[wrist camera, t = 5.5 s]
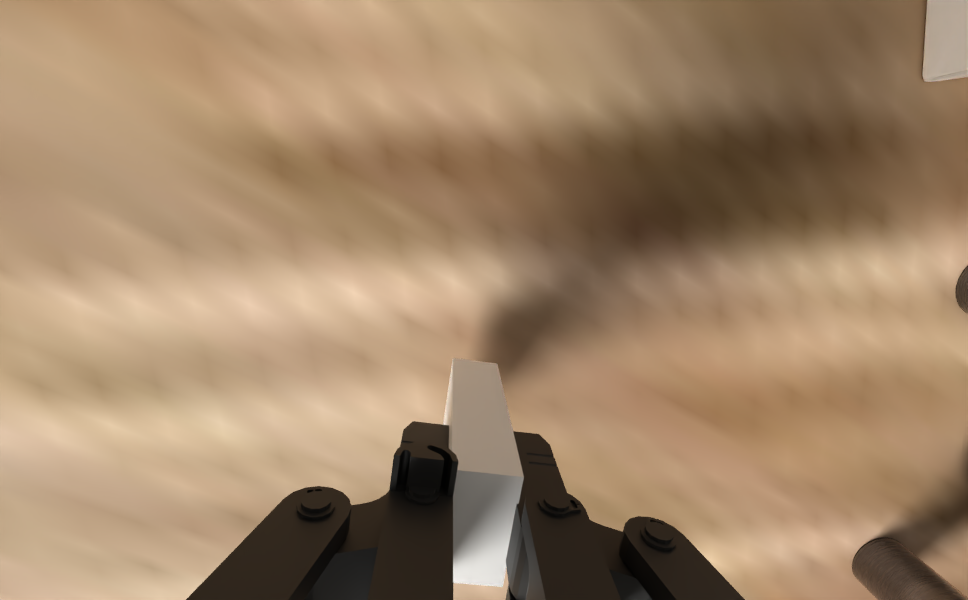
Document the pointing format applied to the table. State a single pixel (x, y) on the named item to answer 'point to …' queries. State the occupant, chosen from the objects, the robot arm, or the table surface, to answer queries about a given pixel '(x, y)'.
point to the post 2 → (963, 291)
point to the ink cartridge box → (946, 40)
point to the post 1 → (899, 574)
